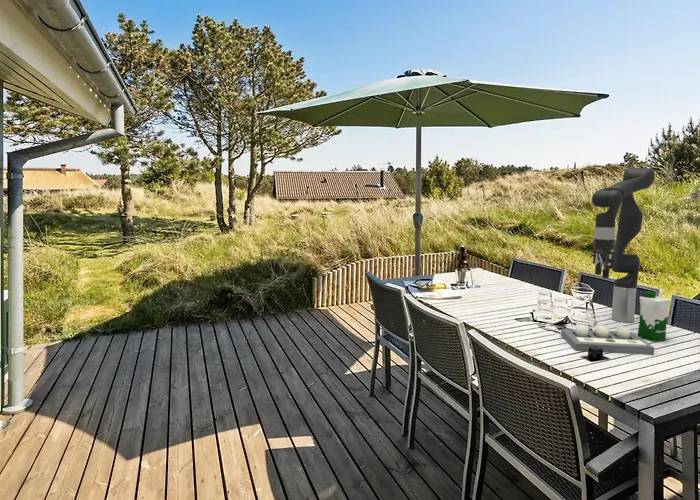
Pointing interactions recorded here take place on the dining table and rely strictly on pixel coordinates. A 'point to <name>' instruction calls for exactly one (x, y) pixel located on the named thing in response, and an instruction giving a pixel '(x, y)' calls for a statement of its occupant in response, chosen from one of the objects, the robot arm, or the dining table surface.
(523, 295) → the dining table surface
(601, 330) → the button
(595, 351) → the black boxy piece
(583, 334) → the button
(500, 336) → the dining table surface
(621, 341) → the strip
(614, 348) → the button board
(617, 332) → the button
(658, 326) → the milk carton
